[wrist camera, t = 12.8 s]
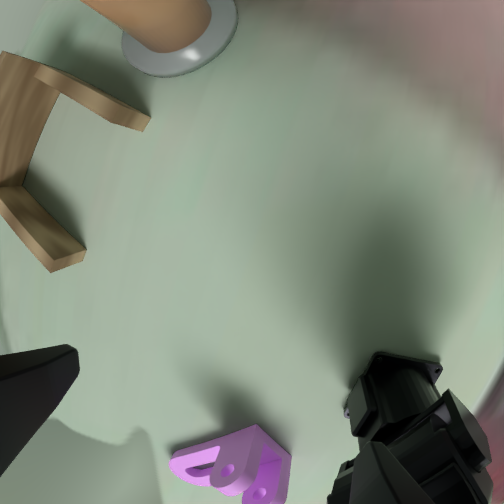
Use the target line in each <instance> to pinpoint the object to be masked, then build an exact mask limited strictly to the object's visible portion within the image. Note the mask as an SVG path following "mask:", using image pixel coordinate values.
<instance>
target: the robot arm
mask: <svg viewBox="0 0 504 504" xmlns="http://www.w3.org/2000/svg"><path fill="white" fill-rule="evenodd" d="M379 357H381V359H380V360H376V359H377V358H379ZM437 368H438V369H437ZM436 369H437V370H436ZM435 370H436V371H435ZM442 370H443V367H442V366H441V364H440V363H436V362H430V361H425V360H419V359H414V358H409V357H404V356H399V355H394V354H389V353H384V352H376V353H375V354H374V355H373V356H372V358H371V360H370V362H369V364H368V366H367V368H366V370H365V372H364V374H363V375H361V376H360V377H359V379H358V381H357V382H356V384H355V386H354V388H353V390H352V392H351V394H350V396H349V398H348V399H347V403H348V404H347V406H346V408H345V409H344V417H345V418H349V419H350V425H351V432H352V435H353V436H354V437H358V443H359V450H360V452H359V454H358V455H357V456H356V458H354V459H352V460H351V461H349V460H348V461H346V462H344V463H343V464H341V467H340V470H339V473H338V476H337V478H336V479H335V481H334V485H333V490H332V493H331V494H329V495H328V497H327V504H491V498H492V492H493V481H492V479H491V477H490V476H489V474H488V472H487V470H486V468H485V467H486V466H488V465H489V464H490V463H491V462H492V459H491V454H490V449H489V444H488V439H487V436H486V435H485V433H484V431H483V430H482V428H481V427H480V425H479V423H478V422H477V420H476V419H475V417H474V416H473V415H472V414H471V412H470V411H469V410H468V409H467V408H466V407H465V406H464V405H463V404H462V402H461V401H460V400H459V399H458V398H457V397H456V396H455V395H454V394H453V393H452V392H451V391H450V389H447V390H446V391H445V392H444V393H443V394H442V397H441V395H440V394H439V392H438V390H437V388H436V386H435V385H434V384H435V383H436V381H437V379H438V377H439V376H440V374H441V372H442ZM79 371H80V366H79V356H78V351H77V349H75V348H74V347H72V346H70V345H68V344H63V345H58V346H53V347H47V348H42V349H36V350H30V351H25V352H19V353H12V354H6V355H0V477H1V475H2V474H3V473H4V471H5V470H6V469H7V468H8V466H9V465H10V464H11V463H12V461H13V460H14V459H15V457H16V456H17V455H18V454H19V452H20V451H21V450H22V449H23V448H24V446H25V445H26V444H27V443H28V441H29V440H30V439H31V438H32V436H33V435H34V434H35V433H36V431H37V430H38V429H39V428H40V427H41V426H42V424H43V423H44V422H45V421H46V420H47V418H48V417H49V416H50V415H51V414H52V412H53V411H54V410H55V409H56V407H57V406H58V405H59V403H60V402H61V400H62V399H63V397H64V396H65V394H66V393H67V391H68V390H69V388H70V387H71V385H72V384H73V382H74V381H75V379H76V378H77V376H78V374H79Z"/></svg>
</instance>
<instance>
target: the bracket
mask: <svg viewBox="0 0 504 504" xmlns="http://www.w3.org/2000/svg"><path fill="white" fill-rule="evenodd" d="M291 458H292V456H291V455H290V454H289V453H287V452H286V451H285V450H284V449H283V448H282V447H281V446H280V445H279V444H277V443H276V442H275V441H274V440H273V439H272V438H271V437H270V436H269V435H268V434H267V433H266V432H265V431H263V430H262V429H261V428H260V427H259V426H258V425H257V424H255V425H252V426H250V427H247V428H244V429H242V430H239V431H236V432H234V433H231V434H228V435H225V436H222V437H219V438H216V439H213V440H210V441H207V442H204V443H201V444H198V445H194V446H191V447H187V448H184V449H180V450H177V451H176V452H174V454H173V456H172V458H171V459H170V461H169V467H170V469H171V471H172V472H173V473H174V474H175V475H176V476H178V477H179V478H180V479H182V480H184V481H186V482H188V483H191V484H194V485H199V486H213V487H214V488H216V489H217V490H219V491H220V492H222V493H223V494H224V495H227V496H235V495H238V494H240V493H242V492H244V493H243V497H242V504H284V503H285V501H286V498H287V492H288V484H289V476H290V467H291ZM211 462H215V463H214V466H213V467H211V468H206V469H202V470H200V469H195V468H193V467H194V466H198V465H202V464H207V463H211Z"/></svg>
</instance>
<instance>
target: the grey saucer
mask: <svg viewBox="0 0 504 504" xmlns="http://www.w3.org/2000/svg"><path fill="white" fill-rule="evenodd" d="M207 2H208V3H209V5H210V7H211V11H212V16H211V21H210V24H209V26H208V27H207V29H206V31H205V32H204V33H203V34H202V35H201V36H200V37H199V38H198V39H197V40H196V41H195V42H193V43H192V44H190V45H189V46H187V47H185V48H183V49H181V50H178V51H174V52H170V53H156V52H153V51H150V50H149V49H147V48H146V47H145V46H143V45H142V44H141V43H139V42H138V41H137V40H135V39H134V38H133V37H131V36H130V35H129V34H127V33H126V32H125V31H123V35H122V50H123V54H124V56H125V58H126V59H127V61H128V62H129V63H130V64H131V65H132V66H134V67H136V68H137V69H139V70H140V71H142V72H144V73H145V74H148V75H150V76H154V77H162V78H163V77H175V76H180V75H184V74H187V73H190V72H192V71H195V70H197V69H199V68H201V67H202V66H204V65H206V64H207V63H209V62H210V61H212V60H213V59H214V58H215V57H217V56H218V55H219V54H220V53H221V52H222V51H223V50H224V49H225V48H226V46H227V45H228V44H229V42H230V41H231V39H232V38H233V36H234V33H235V31H236V28H237V24H238V12H237V9H236V6H235V4H234V1H233V0H207Z"/></svg>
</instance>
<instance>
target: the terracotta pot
mask: <svg viewBox="0 0 504 504" xmlns="http://www.w3.org/2000/svg"><path fill="white" fill-rule="evenodd" d="M80 1H82V2H83V3H85V4H86V5H88V6H89V7H91V8H92V9H94V10H95V11H97V12H98V13H100V14H101V15H102V16H104V17H105V18H107V19H108V20H110V21H111V22H112V23H114V24H115V25H117V26H118V27H119V28H121V29H122V30H123V31H125V32H126V33H127V34H129V35H130V36H131V37H133V38H134V39H135V40H137V41H138V42H139V43H141V44H142V45H143V46H145V47H146V48H147V49H149V50H150V51H153V52H156V53H170V52H174V51H178V50H181V49H183V48H185V47H187V46H189V45H190V44H192V43H193V42H195V41H196V40H197V39H198V38H199V37H200V36H201V35H202V34H203V33H204V32H205V31H206V29H207V27H208V26H209V24H210V21H211V16H212V11H211V7H210V5H209V3H208V2H207V0H80Z"/></svg>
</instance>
